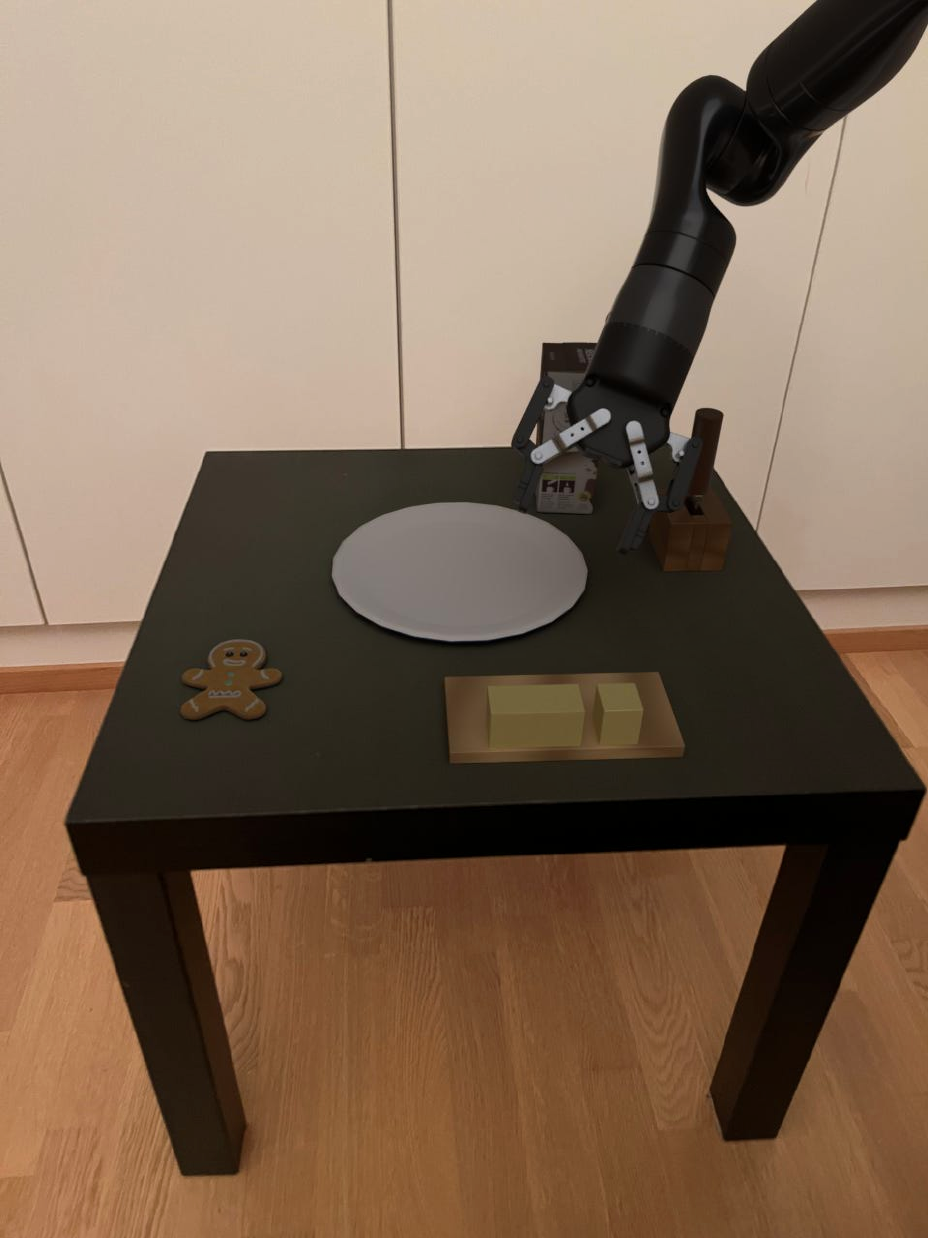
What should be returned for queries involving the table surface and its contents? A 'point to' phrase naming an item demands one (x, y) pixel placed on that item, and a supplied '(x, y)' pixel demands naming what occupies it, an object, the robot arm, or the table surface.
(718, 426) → the knife
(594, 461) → the coffee box
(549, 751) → the cutting board
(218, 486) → the table surface
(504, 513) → the plate
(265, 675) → the cookie
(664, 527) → the knife block
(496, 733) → the butter
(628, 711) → the butter slice
